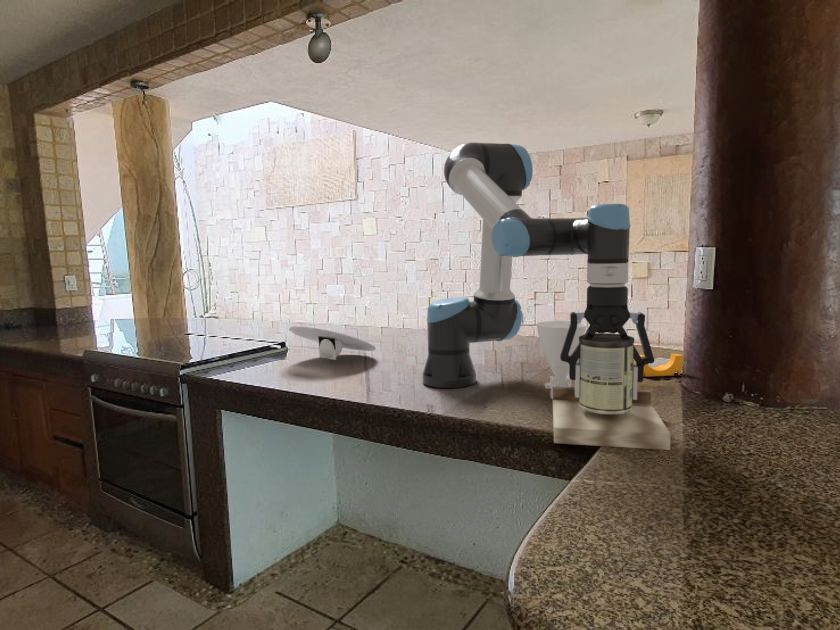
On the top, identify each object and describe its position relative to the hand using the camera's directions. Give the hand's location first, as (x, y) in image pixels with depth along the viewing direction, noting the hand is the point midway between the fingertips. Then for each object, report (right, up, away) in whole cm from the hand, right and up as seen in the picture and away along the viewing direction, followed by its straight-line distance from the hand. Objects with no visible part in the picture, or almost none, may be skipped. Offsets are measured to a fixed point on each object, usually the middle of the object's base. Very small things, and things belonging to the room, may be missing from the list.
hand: (605, 396), depth 104 cm
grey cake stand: (-74, +5, +66) cm, 100 cm away
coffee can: (0, -2, 0) cm, 2 cm away
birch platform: (0, -6, +1) cm, 6 cm away
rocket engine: (-3, -4, +23) cm, 23 cm away
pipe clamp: (+28, -1, +40) cm, 49 cm away
